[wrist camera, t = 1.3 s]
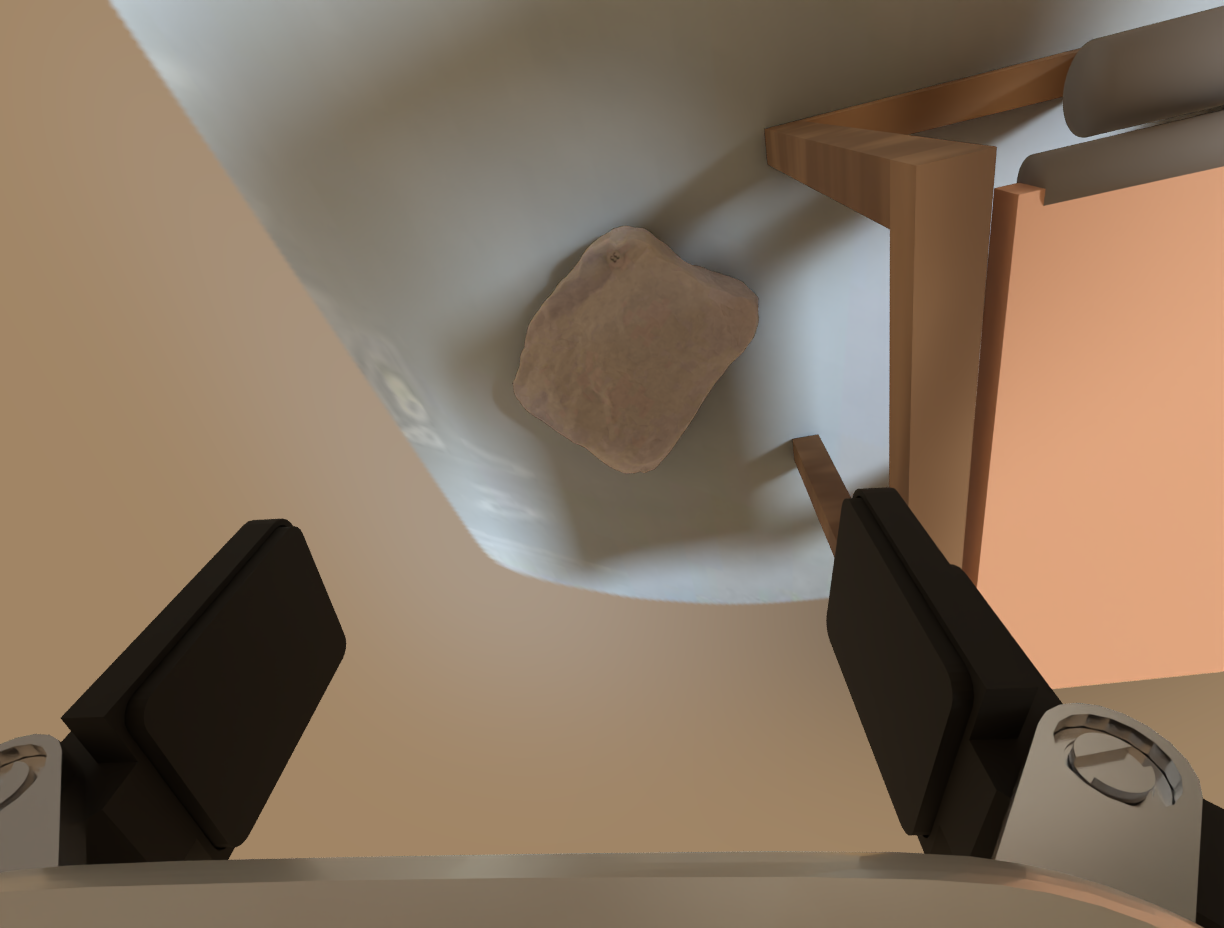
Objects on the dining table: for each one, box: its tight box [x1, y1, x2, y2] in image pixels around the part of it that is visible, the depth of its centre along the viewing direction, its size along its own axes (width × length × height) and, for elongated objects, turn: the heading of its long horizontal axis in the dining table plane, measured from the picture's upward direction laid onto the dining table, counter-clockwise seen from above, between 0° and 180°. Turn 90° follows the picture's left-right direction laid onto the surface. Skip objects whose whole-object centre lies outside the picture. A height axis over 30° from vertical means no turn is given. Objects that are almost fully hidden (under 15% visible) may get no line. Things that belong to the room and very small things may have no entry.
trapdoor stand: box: [764, 48, 1081, 569], centre depth 23 cm, size 14×18×18 cm
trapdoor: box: [962, 6, 1224, 689], centre depth 16 cm, size 10×18×3 cm, turn 13°
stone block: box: [513, 226, 759, 474], centre depth 32 cm, size 12×5×10 cm
